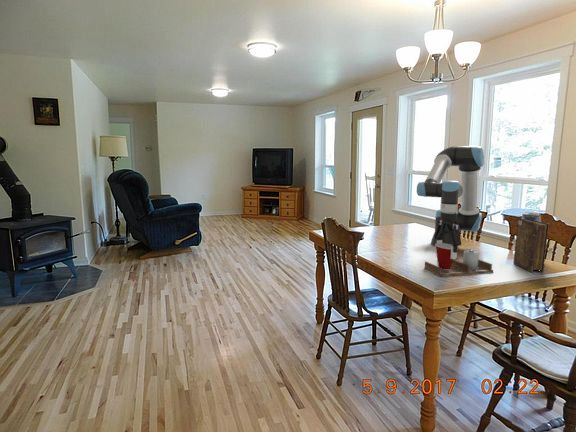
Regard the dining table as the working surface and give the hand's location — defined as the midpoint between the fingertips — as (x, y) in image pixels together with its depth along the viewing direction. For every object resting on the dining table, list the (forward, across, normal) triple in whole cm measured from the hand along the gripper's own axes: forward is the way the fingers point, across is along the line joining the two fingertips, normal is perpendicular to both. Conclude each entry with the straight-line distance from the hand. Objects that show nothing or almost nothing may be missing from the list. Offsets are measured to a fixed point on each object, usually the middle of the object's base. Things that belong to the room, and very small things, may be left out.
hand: (445, 255), depth 188 cm
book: (+8, +6, +44) cm, 46 cm away
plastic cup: (+7, 0, 0) cm, 7 cm away
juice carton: (+8, -8, +58) cm, 60 cm away
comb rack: (+8, +1, +6) cm, 10 cm away
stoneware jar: (+8, 0, +14) cm, 16 cm away
